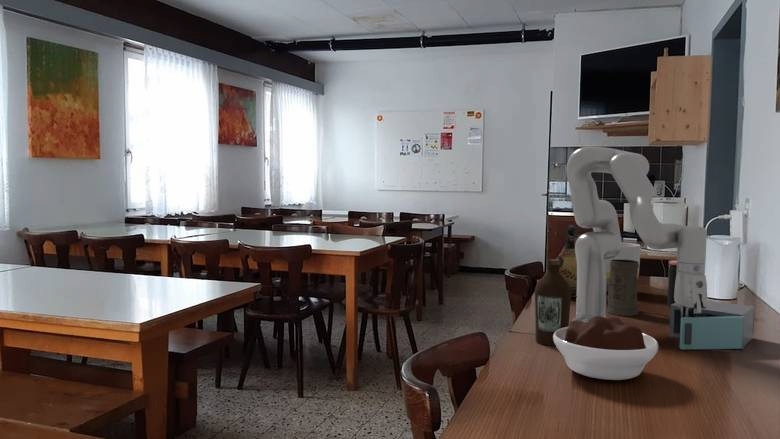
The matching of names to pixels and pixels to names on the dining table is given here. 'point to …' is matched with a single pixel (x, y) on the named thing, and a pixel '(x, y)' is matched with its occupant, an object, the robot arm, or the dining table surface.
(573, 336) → the white dessert bowl
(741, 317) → the side door
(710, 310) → the grey cabinet
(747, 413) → the dining table surface
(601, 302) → the robot arm
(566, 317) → the olive oil
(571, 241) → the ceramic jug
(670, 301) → the coffee jar
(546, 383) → the dining table surface
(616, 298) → the beer stein
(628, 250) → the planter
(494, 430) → the dining table surface
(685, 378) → the dining table surface
